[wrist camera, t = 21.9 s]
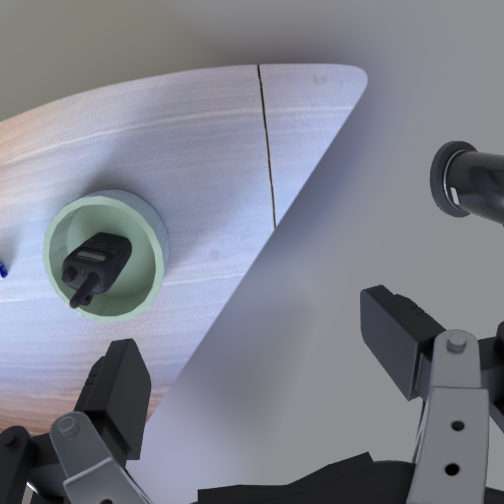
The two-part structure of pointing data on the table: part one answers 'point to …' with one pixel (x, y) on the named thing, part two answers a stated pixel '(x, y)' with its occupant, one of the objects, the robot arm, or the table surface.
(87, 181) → the table surface
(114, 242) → the two-way radio
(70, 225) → the pot
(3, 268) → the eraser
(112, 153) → the table surface
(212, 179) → the table surface
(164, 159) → the table surface
